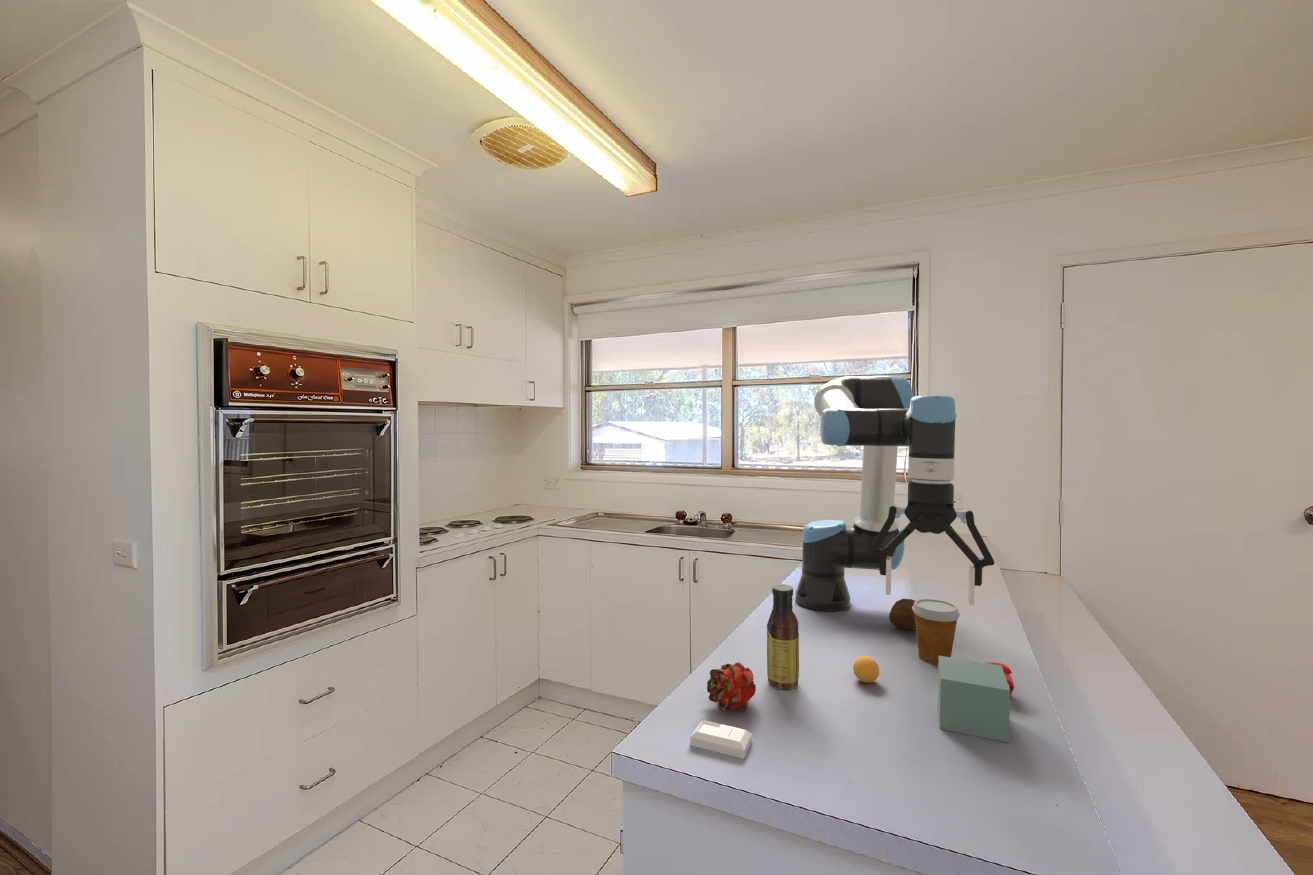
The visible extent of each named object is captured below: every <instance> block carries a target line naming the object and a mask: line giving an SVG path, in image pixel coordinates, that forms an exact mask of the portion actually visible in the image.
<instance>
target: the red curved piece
mask: <svg viewBox="0 0 1313 875" xmlns="http://www.w3.org/2000/svg"><path fill="white" fill-rule="evenodd" d="M987 663H988V664H995V665H1001V666H1002V669H1003V671H1004V674H1005V677H1006V680H1007V683H1008V686H1009V689H1010V696H1011V695H1012V693H1013V691H1014V690H1015V689H1014V688H1015V684H1014V682H1013V678H1012V676H1011V675H1012V674H1013V672H1012V669H1010V667H1009V666H1007V665H1005V664H1003V663H1000V662H987Z"/></svg>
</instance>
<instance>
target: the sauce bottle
mask: <svg viewBox="0 0 1313 875" xmlns="http://www.w3.org/2000/svg"><path fill="white" fill-rule="evenodd" d="M771 588H772V589H771V590H772V596H773V597H772V601H773V602H772V603H773V604H772V609H771V612H770V616H769V618H768V621H767V624H766V670H767V671H766V674H767V681H768V684H769V685H770V686H772V687H773V688H775V689H778V690H783V691H789V690H794V689H795V688H797V687H798V686H799V679H800V678H799V677H800V633H799V621H798V617H797V616H796V614H795V612H794V611H793V607H794V606H793V596H794V587H792V585H788V584H774V585H773V586H772V587H771Z"/></svg>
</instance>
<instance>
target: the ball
mask: <svg viewBox="0 0 1313 875" xmlns="http://www.w3.org/2000/svg"><path fill="white" fill-rule="evenodd" d="M852 672H853V674H854V676H855V677H856V679H858V680H859V681H860V682H863V683H866V684H867V683H869V684H870V683H873V682H875V681H876V680H877V679H878V678H879V676H880V666H879V664H878V663H877V661H876V660H875V659H874V658H872V657H871V656H867V655H864V656H863V655H861V656H859V657H858V658H856V659H855V660H854V662H853V665H852Z"/></svg>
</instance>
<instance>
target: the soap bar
mask: <svg viewBox="0 0 1313 875" xmlns="http://www.w3.org/2000/svg"><path fill="white" fill-rule="evenodd" d="M696 726H697V727H695V729H694V731H693V733H691V735H690V738H689V740H690V741H689V744H690V746H691V747H697V748H700V749H705V750H708V751H712V752H715V753H716V752H717V753H719V754H720V753H721V754H724V755H728V756H731V757H736V758H741V759H745V758H746V756H747V753H748V752H749V749H750V748H751V745H752V743H753V734H752V733H751V732H750V731H749V730H747V729H743V728H740V727H735V726H732V725H727V724H723V723H719V722H713V721H708V720H705V719H703V720H701V721H700V722H699V723H698V725H696Z"/></svg>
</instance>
